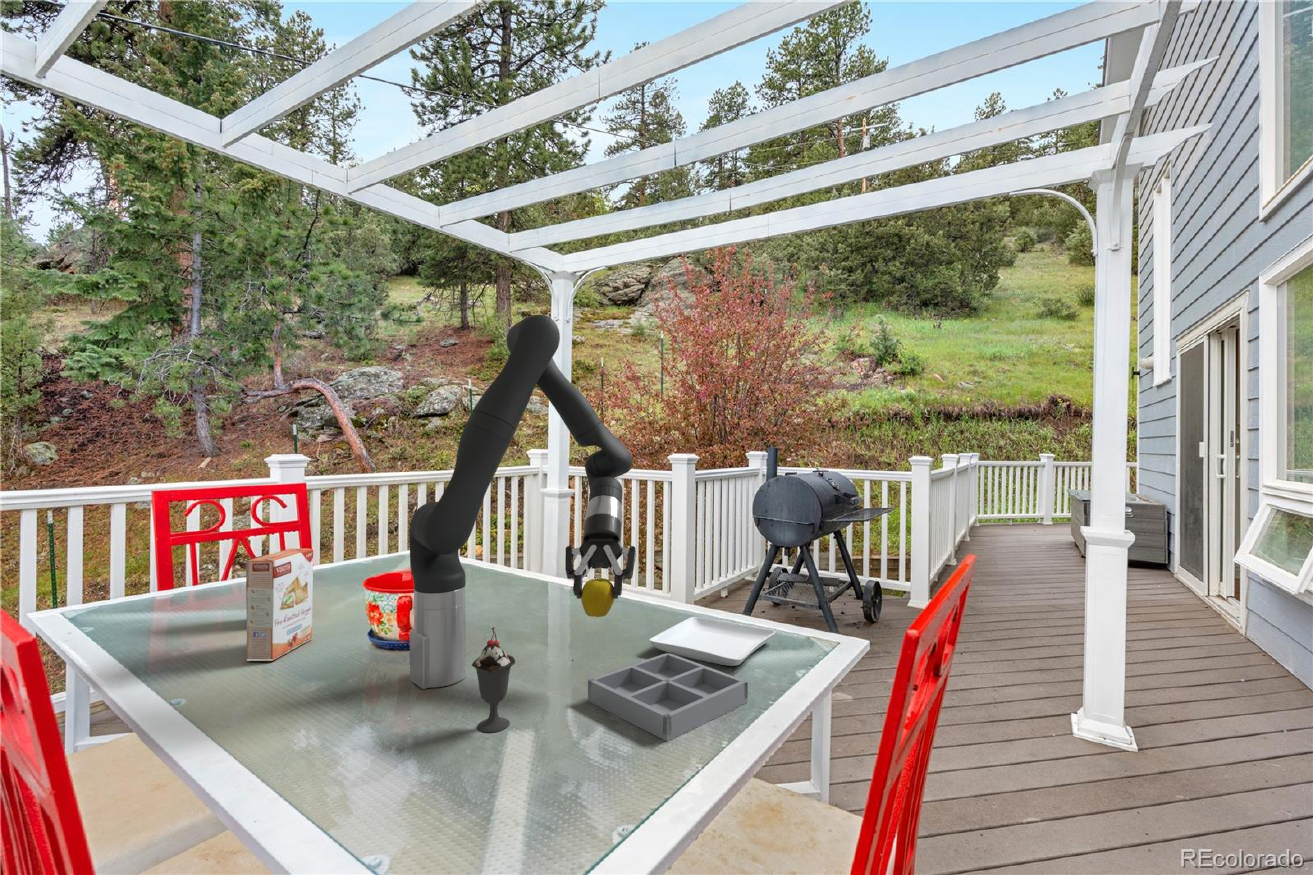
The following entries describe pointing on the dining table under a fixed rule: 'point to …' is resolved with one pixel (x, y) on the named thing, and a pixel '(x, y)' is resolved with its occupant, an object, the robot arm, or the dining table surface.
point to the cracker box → (279, 602)
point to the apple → (597, 597)
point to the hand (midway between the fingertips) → (597, 596)
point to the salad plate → (712, 640)
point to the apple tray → (667, 694)
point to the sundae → (493, 683)
